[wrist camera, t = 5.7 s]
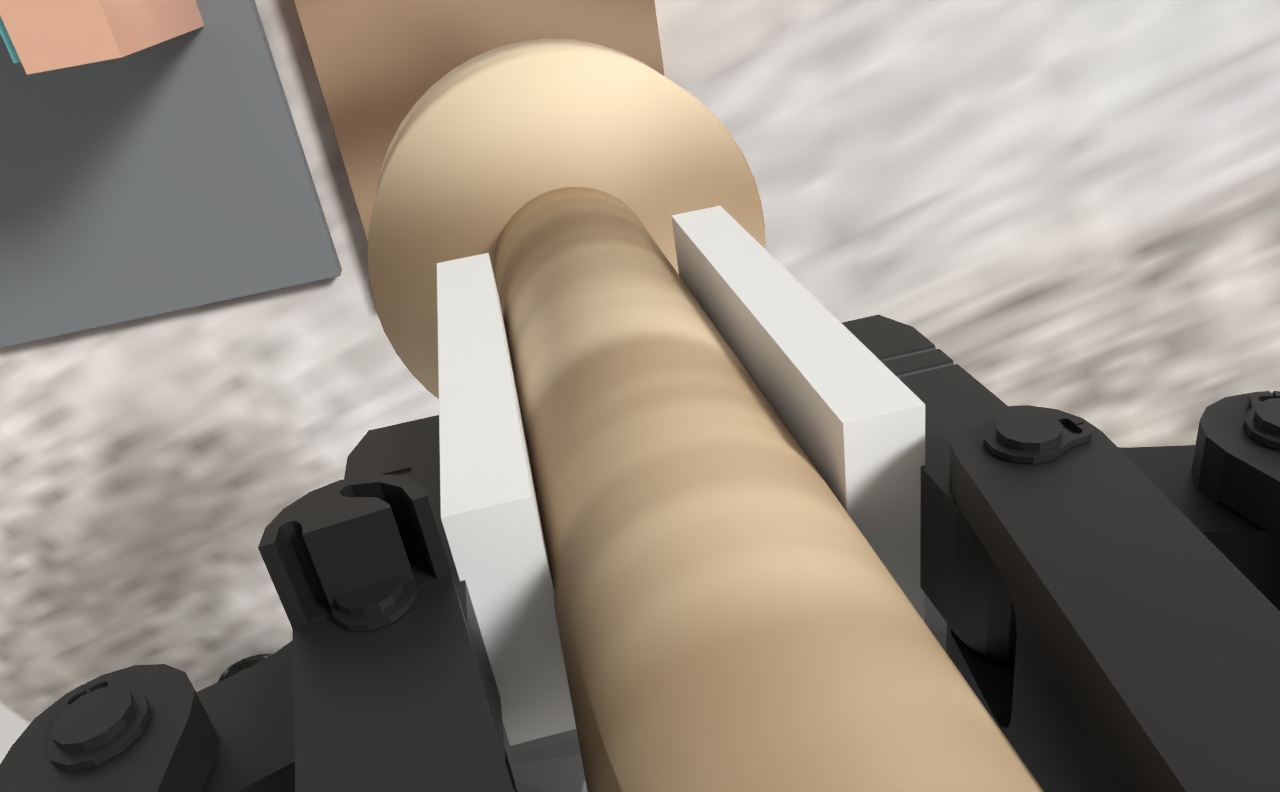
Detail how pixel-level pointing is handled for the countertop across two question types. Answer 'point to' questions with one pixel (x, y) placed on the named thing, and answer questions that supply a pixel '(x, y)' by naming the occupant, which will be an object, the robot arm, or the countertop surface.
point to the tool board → (437, 57)
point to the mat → (153, 182)
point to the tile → (89, 29)
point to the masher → (663, 447)
